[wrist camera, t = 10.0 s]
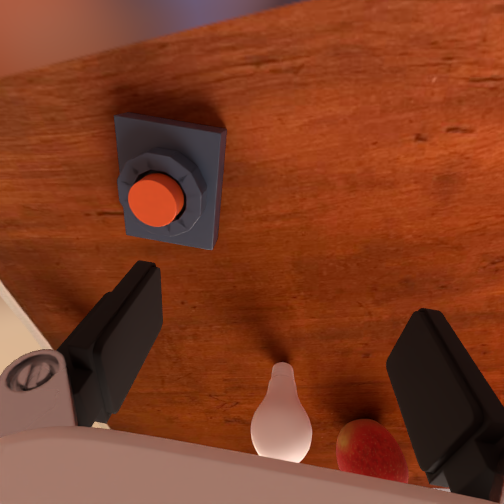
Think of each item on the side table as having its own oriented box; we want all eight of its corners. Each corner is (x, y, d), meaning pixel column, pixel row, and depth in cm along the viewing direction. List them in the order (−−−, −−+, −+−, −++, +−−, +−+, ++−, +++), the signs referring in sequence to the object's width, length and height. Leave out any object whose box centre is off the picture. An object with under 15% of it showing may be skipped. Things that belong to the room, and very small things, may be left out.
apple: (396, 437, 41) (423, 530, 33) (338, 439, 43) (349, 528, 35) (390, 403, 37) (420, 498, 29) (327, 407, 40) (337, 498, 31)
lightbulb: (318, 364, 35) (328, 467, 26) (285, 385, 38) (283, 486, 29) (279, 339, 34) (275, 439, 24) (248, 363, 37) (234, 461, 27)
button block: (127, 112, 23) (99, 117, 19) (227, 128, 23) (215, 137, 19) (136, 224, 28) (115, 244, 25) (217, 239, 28) (207, 261, 24)
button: (137, 168, 21) (125, 175, 20) (184, 177, 21) (176, 184, 20) (140, 213, 23) (129, 222, 22) (183, 221, 23) (176, 230, 22)
